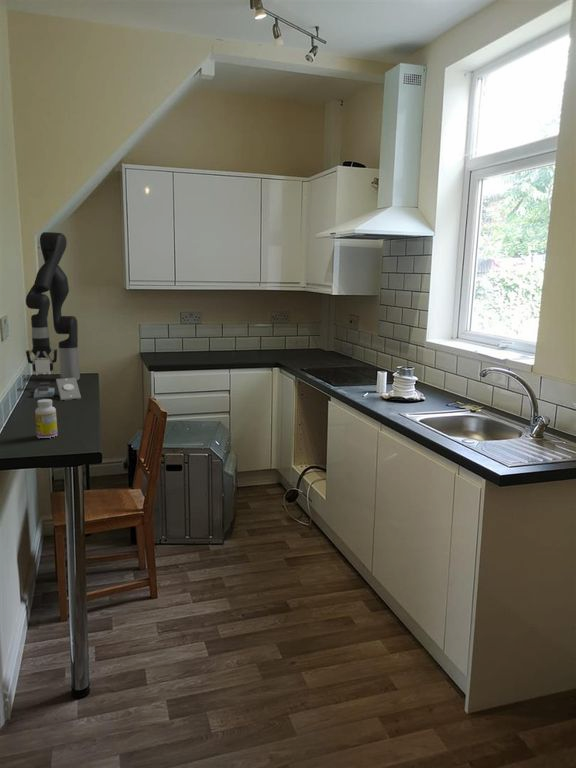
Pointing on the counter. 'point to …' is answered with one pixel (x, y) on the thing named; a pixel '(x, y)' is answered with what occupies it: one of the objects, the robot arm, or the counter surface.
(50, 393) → the plate
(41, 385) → the din rail
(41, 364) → the block
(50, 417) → the supplement bottle
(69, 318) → the robot arm
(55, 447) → the counter surface
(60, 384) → the light switch
